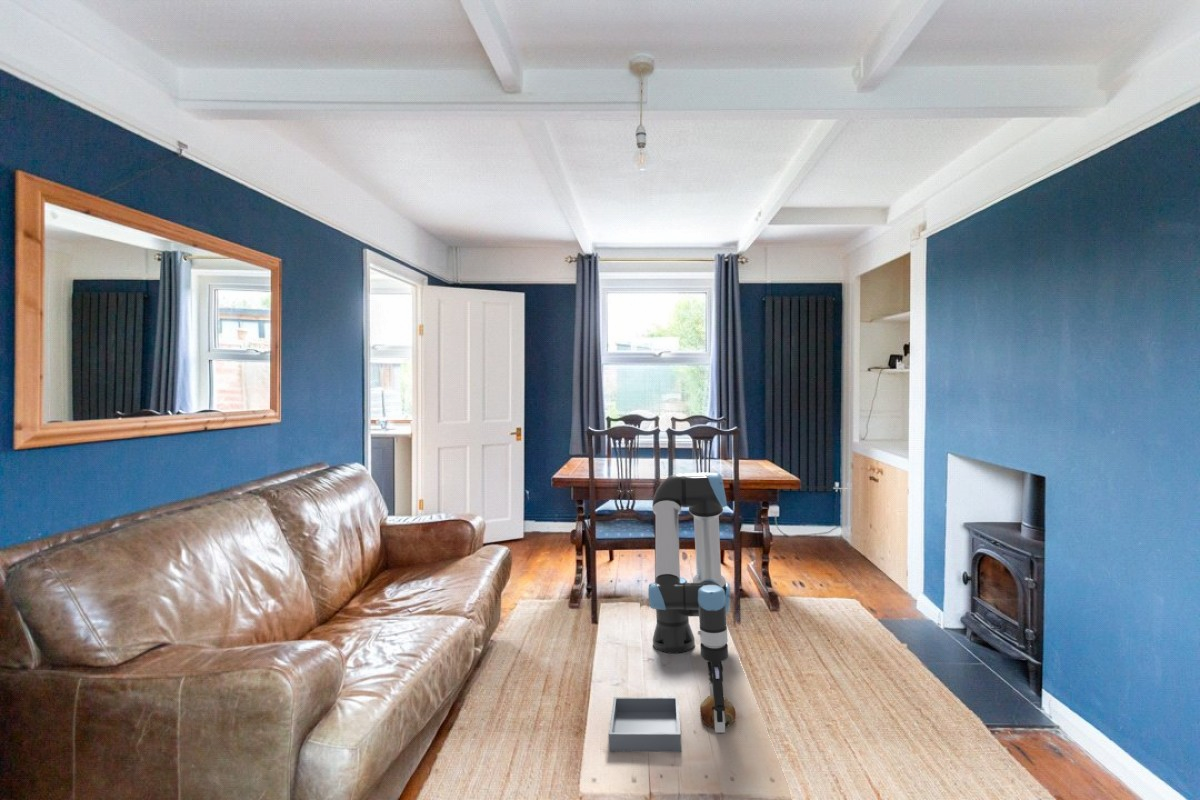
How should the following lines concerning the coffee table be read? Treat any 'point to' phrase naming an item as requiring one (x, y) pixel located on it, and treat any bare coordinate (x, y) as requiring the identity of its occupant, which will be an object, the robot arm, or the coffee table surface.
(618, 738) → the grey tray
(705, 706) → the bread roll
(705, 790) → the coffee table surface
